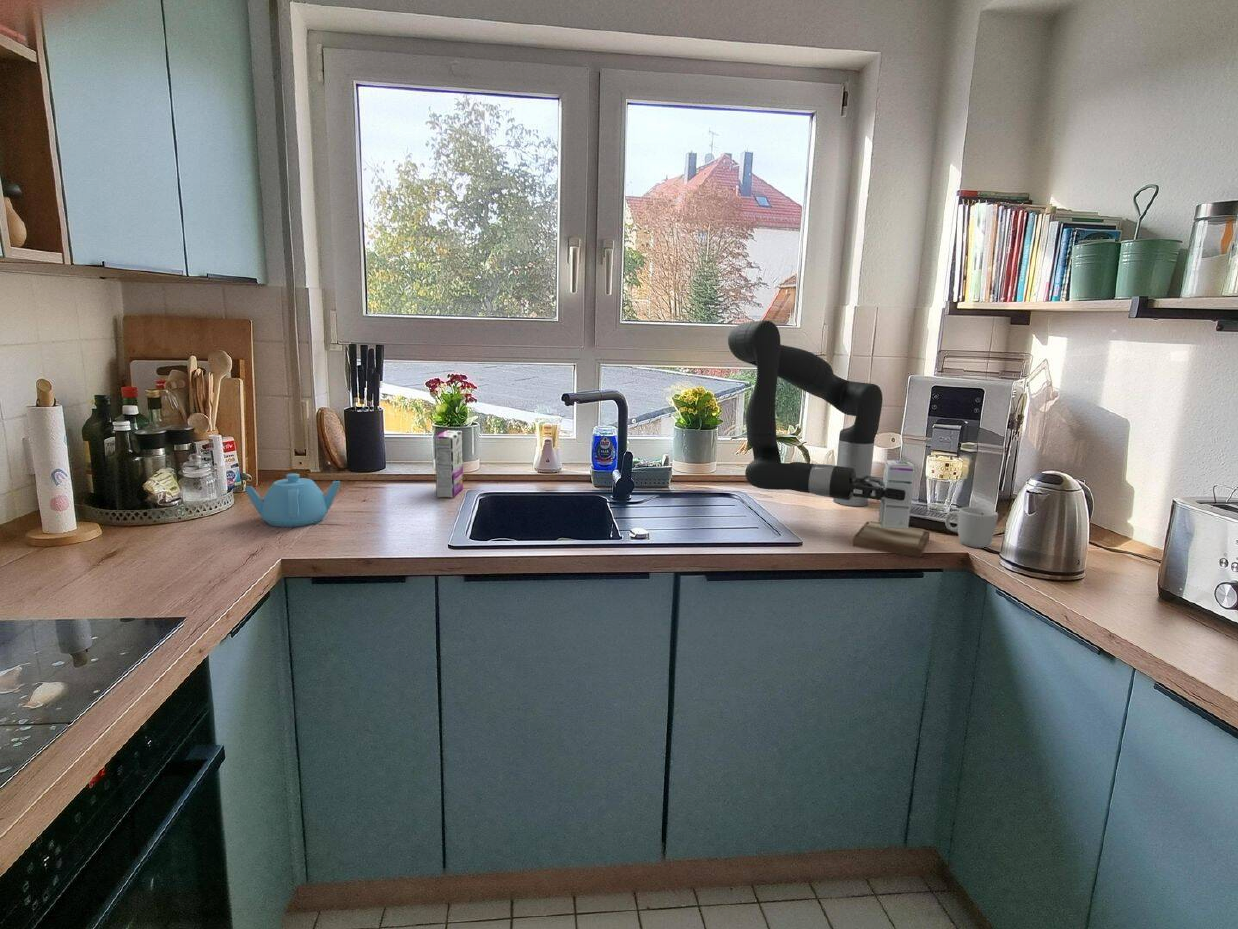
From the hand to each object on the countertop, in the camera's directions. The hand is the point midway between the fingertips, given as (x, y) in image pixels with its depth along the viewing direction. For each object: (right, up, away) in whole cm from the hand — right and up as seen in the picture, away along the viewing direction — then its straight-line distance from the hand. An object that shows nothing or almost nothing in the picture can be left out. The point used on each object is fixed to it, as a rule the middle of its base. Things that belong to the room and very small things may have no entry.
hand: (907, 492), depth 157 cm
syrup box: (-2, -8, +3) cm, 8 cm away
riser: (-2, -12, +3) cm, 12 cm away
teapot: (-138, -7, +5) cm, 138 cm away
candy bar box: (-110, -2, +35) cm, 115 cm away
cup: (+16, -12, +5) cm, 20 cm away
